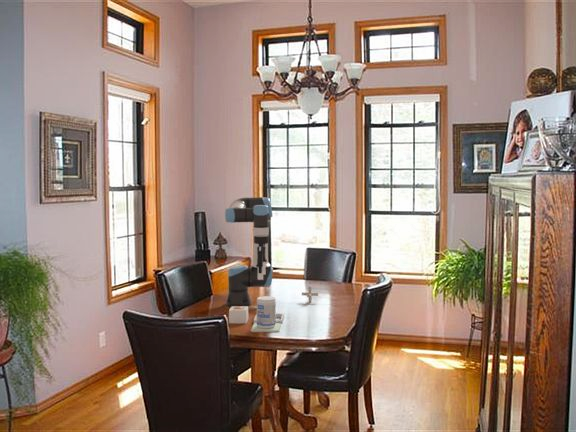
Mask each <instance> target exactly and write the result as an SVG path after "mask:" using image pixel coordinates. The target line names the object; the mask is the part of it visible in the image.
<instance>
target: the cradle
mask: <svg viewBox="0 0 576 432" xmlns="http://www.w3.org/2000/svg"><path fill="white" fill-rule="evenodd" d="M276 318H277V319H276V321H275V323H281V325H283V322H284V319H285V313H278V312H277V313H276ZM278 318H279V319H278ZM254 323H257V313H256V314H255V316H254V318H253V324H254Z"/></svg>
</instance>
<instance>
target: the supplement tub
mask: <svg viewBox="0 0 576 432" xmlns="http://www.w3.org/2000/svg"><path fill="white" fill-rule="evenodd" d="M276 307H277V306H276V297H275V296H270V295H269V296H267V295H264V296H258V297H257V298H256V314H257V327H259V328H264V329H267V328H273V327H275V321H276V320H277V319H276V311H277V310H276Z"/></svg>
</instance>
